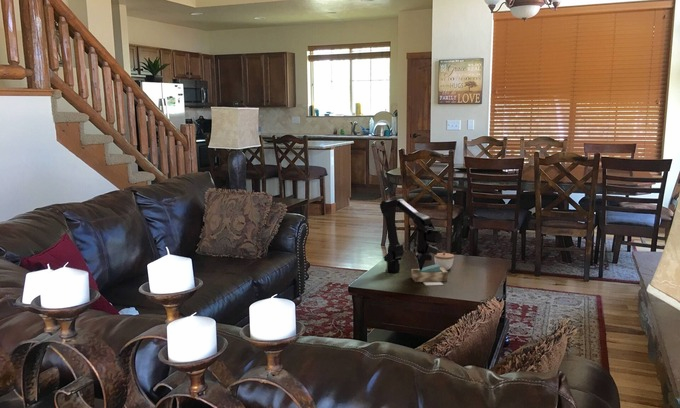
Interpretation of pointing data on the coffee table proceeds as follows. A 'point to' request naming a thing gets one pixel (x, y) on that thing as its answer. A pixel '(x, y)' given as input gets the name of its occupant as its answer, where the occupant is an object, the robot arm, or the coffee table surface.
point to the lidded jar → (444, 260)
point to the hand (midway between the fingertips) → (420, 269)
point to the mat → (432, 283)
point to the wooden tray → (429, 275)
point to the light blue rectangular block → (431, 268)
